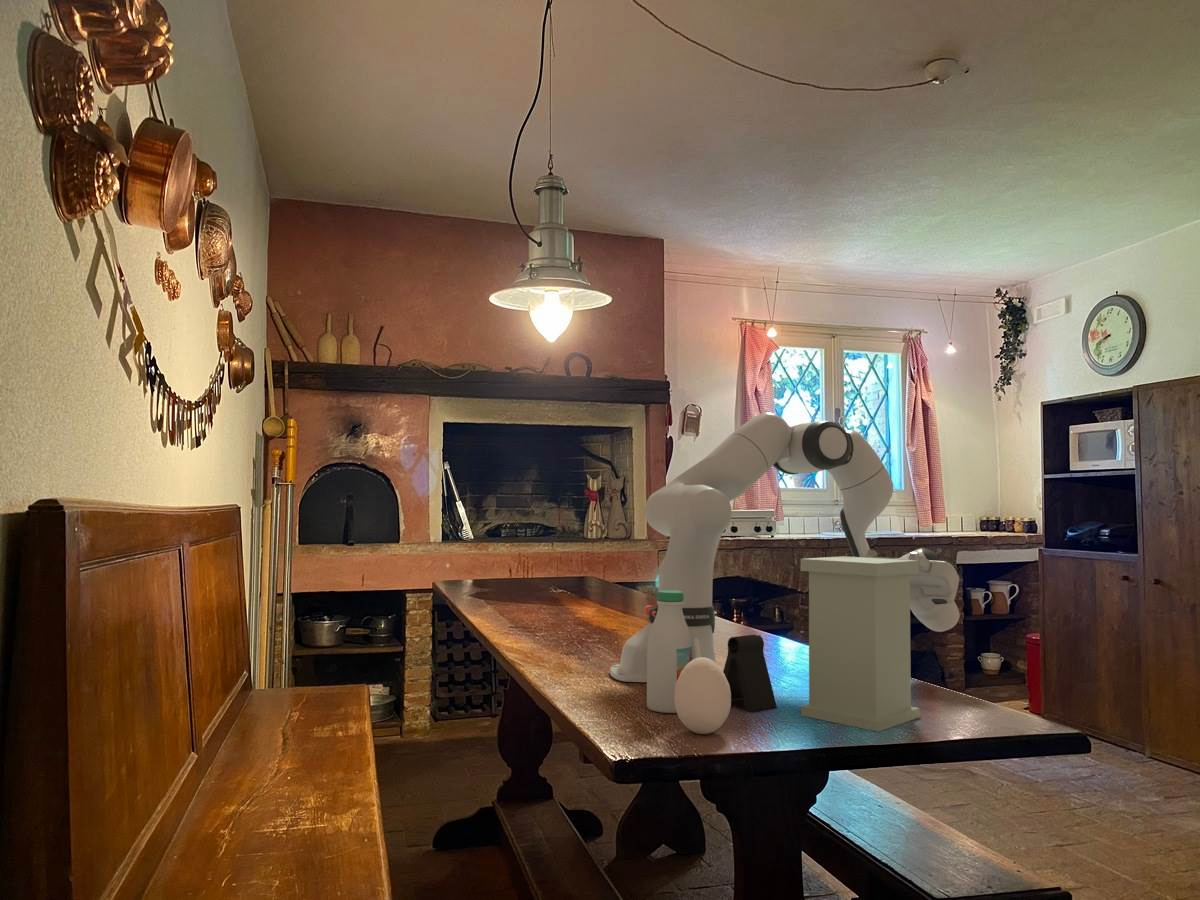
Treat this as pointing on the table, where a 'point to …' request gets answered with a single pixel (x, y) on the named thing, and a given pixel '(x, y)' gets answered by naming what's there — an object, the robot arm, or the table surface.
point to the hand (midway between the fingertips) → (890, 554)
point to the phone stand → (748, 674)
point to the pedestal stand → (860, 641)
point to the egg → (702, 696)
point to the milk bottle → (667, 651)
